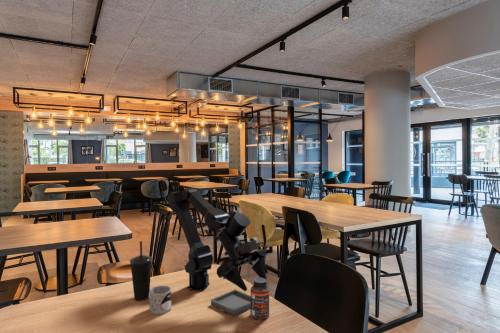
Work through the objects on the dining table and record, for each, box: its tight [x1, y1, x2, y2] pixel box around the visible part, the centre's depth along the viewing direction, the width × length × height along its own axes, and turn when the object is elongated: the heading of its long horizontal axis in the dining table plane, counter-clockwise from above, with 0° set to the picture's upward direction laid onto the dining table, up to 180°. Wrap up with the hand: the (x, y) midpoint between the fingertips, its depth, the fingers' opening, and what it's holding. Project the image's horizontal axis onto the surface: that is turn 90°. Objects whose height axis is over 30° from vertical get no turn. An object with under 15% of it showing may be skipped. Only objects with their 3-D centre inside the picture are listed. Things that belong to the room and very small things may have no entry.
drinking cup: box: [129, 240, 153, 302], centre depth 111 cm, size 8×8×20 cm
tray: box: [210, 288, 251, 318], centre depth 106 cm, size 11×11×2 cm
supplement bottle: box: [249, 277, 271, 321], centre depth 99 cm, size 6×6×11 cm
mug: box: [149, 285, 172, 316], centre depth 104 cm, size 10×7×7 cm
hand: (256, 285), depth 99 cm, fingers open, 9 cm apart
